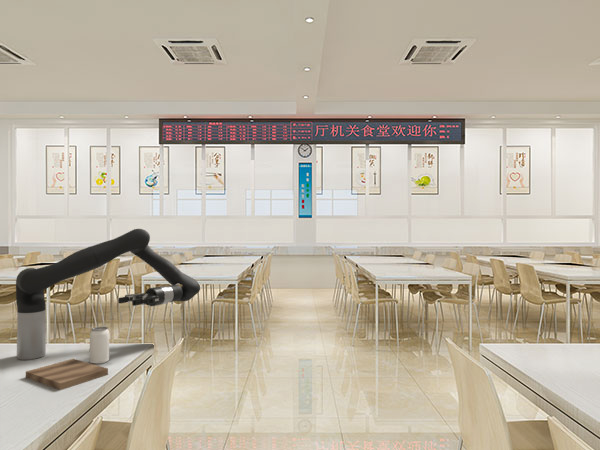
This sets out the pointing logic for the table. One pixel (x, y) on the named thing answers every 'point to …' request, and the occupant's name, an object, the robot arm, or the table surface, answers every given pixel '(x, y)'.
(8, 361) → the table surface
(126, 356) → the table surface
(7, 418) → the table surface
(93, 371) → the serving board
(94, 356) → the can
